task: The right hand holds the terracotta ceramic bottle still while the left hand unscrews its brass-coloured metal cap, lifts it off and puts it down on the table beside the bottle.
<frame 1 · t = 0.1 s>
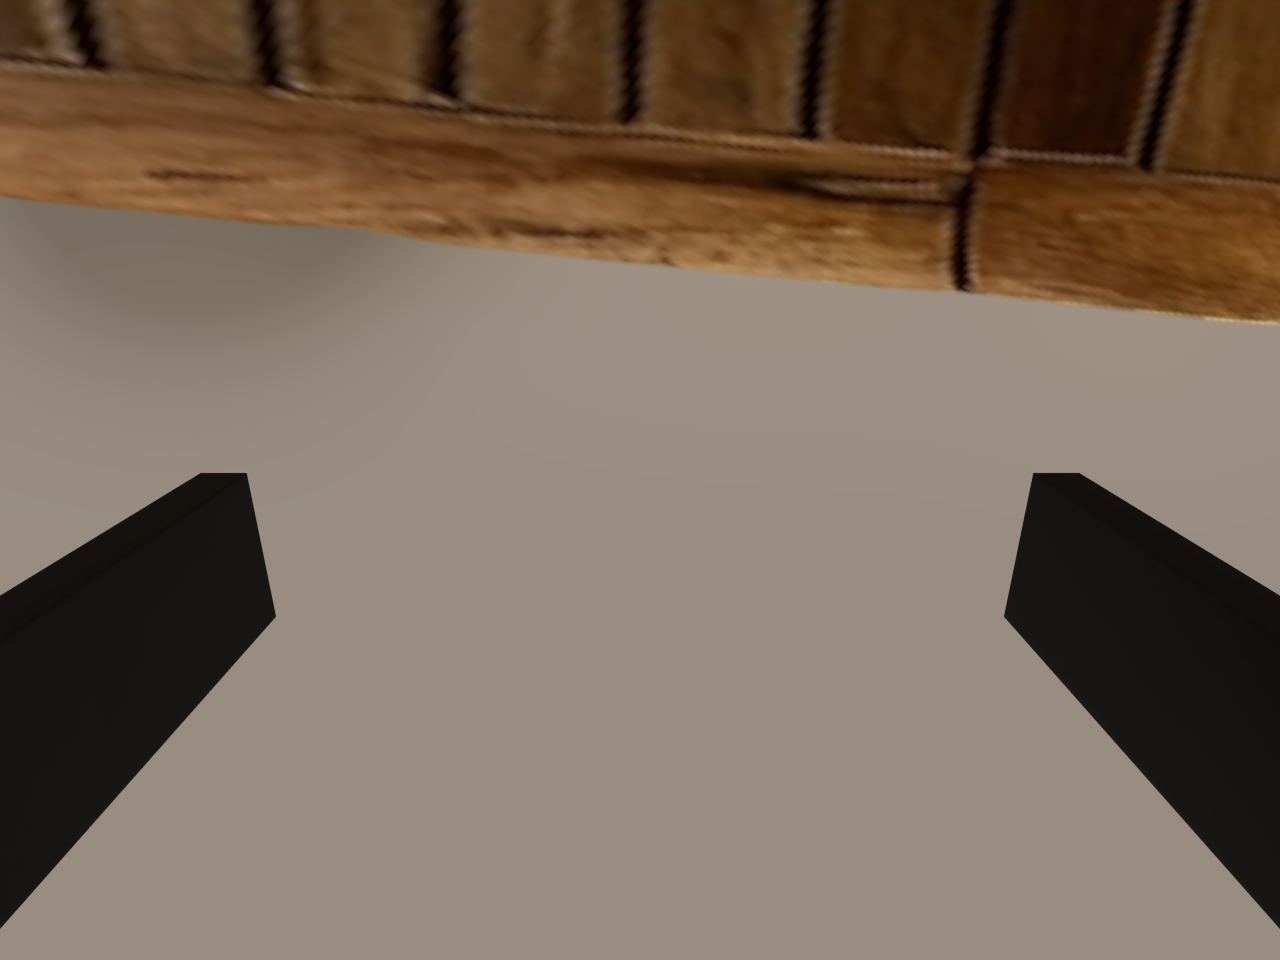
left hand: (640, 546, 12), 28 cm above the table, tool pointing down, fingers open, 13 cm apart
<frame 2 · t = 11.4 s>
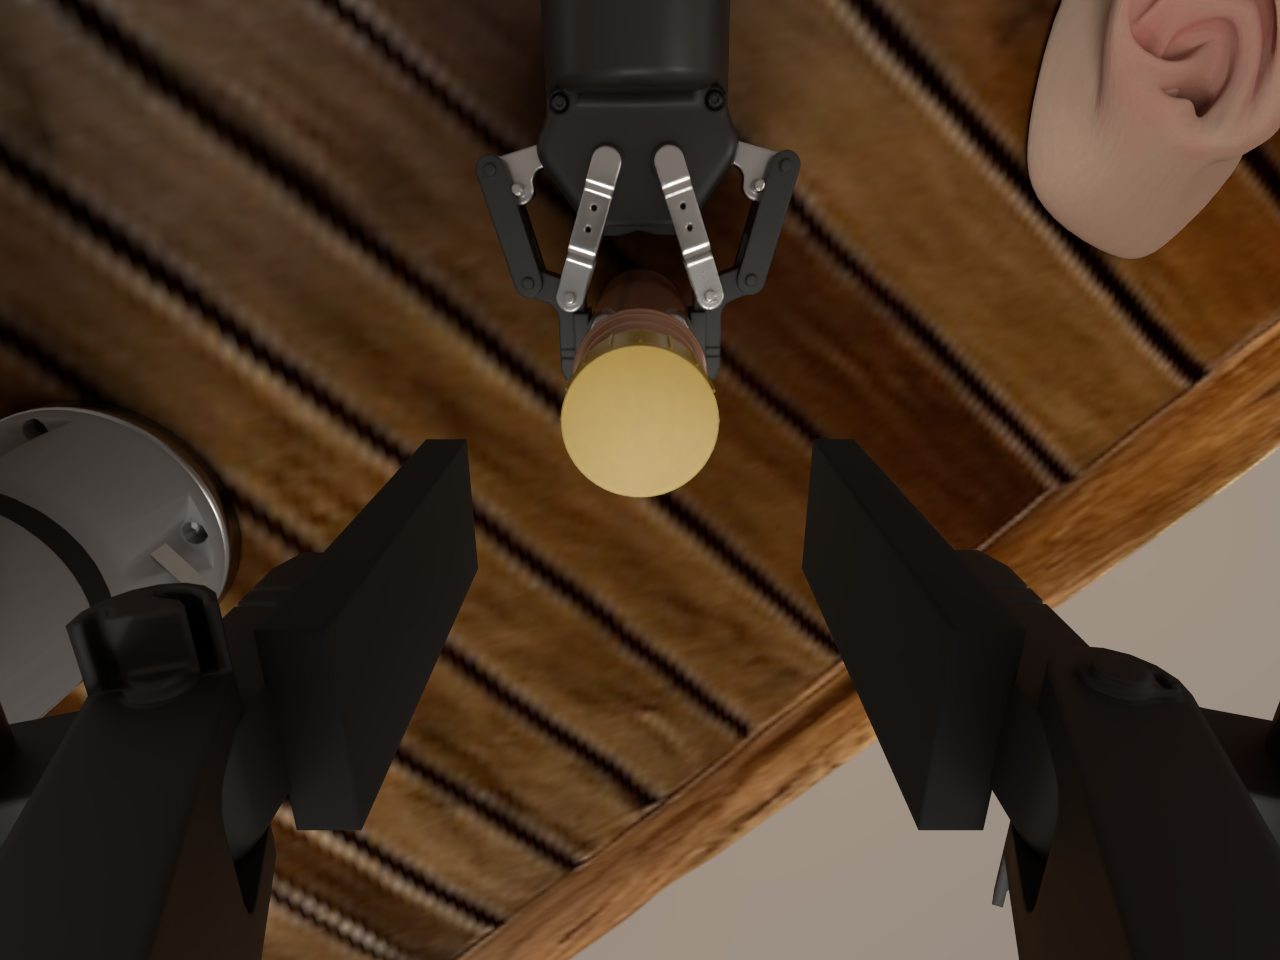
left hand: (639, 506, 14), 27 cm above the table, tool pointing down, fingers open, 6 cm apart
right hand: (641, 387, 35), fingers closed on bottle, 4 cm apart
anatomical model: (1137, 110, 36), on the table
cap: (639, 421, 20), point 21 cm above the table, screwed on, not yet turned
bottle: (640, 312, 39), on the table, touching right hand
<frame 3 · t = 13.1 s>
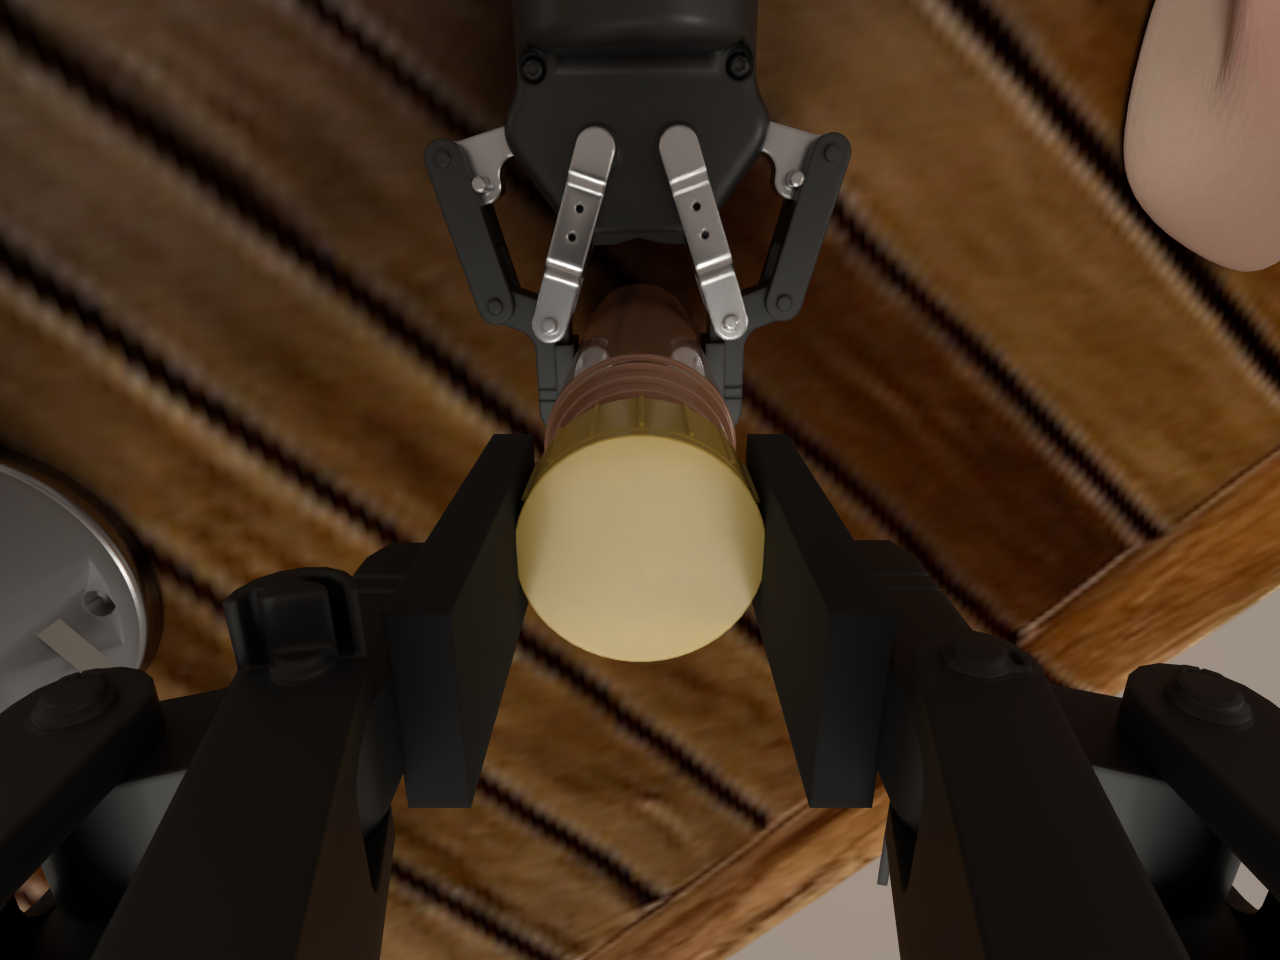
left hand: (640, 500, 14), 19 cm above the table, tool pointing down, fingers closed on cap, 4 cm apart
right hand: (641, 435, 27), fingers closed on bottle, 4 cm apart
anatomical model: (1263, 86, 29), on the table
cap: (640, 547, 12), point 21 cm above the table, screwed on, not yet turned, touching left hand
bottle: (640, 336, 32), on the table, touching right hand
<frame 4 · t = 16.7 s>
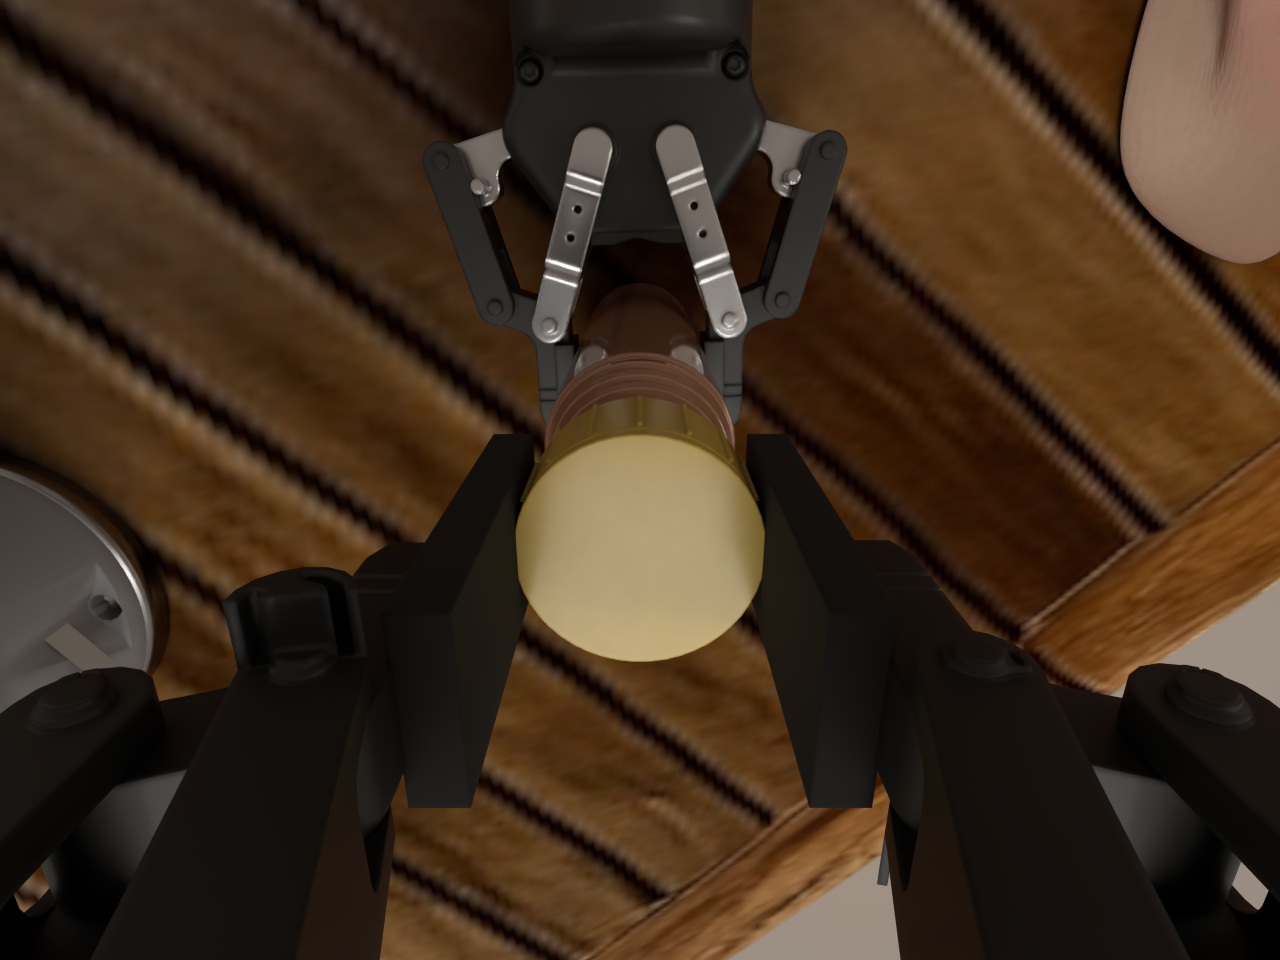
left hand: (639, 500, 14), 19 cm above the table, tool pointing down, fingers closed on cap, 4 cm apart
right hand: (642, 433, 27), fingers closed on bottle, 4 cm apart
anatomical model: (1259, 78, 29), on the table
cap: (639, 547, 12), point 21 cm above the table, turned 135° so far, risen 0.1 cm, still on its thread, touching left hand
bottle: (639, 336, 32), on the table, touching right hand
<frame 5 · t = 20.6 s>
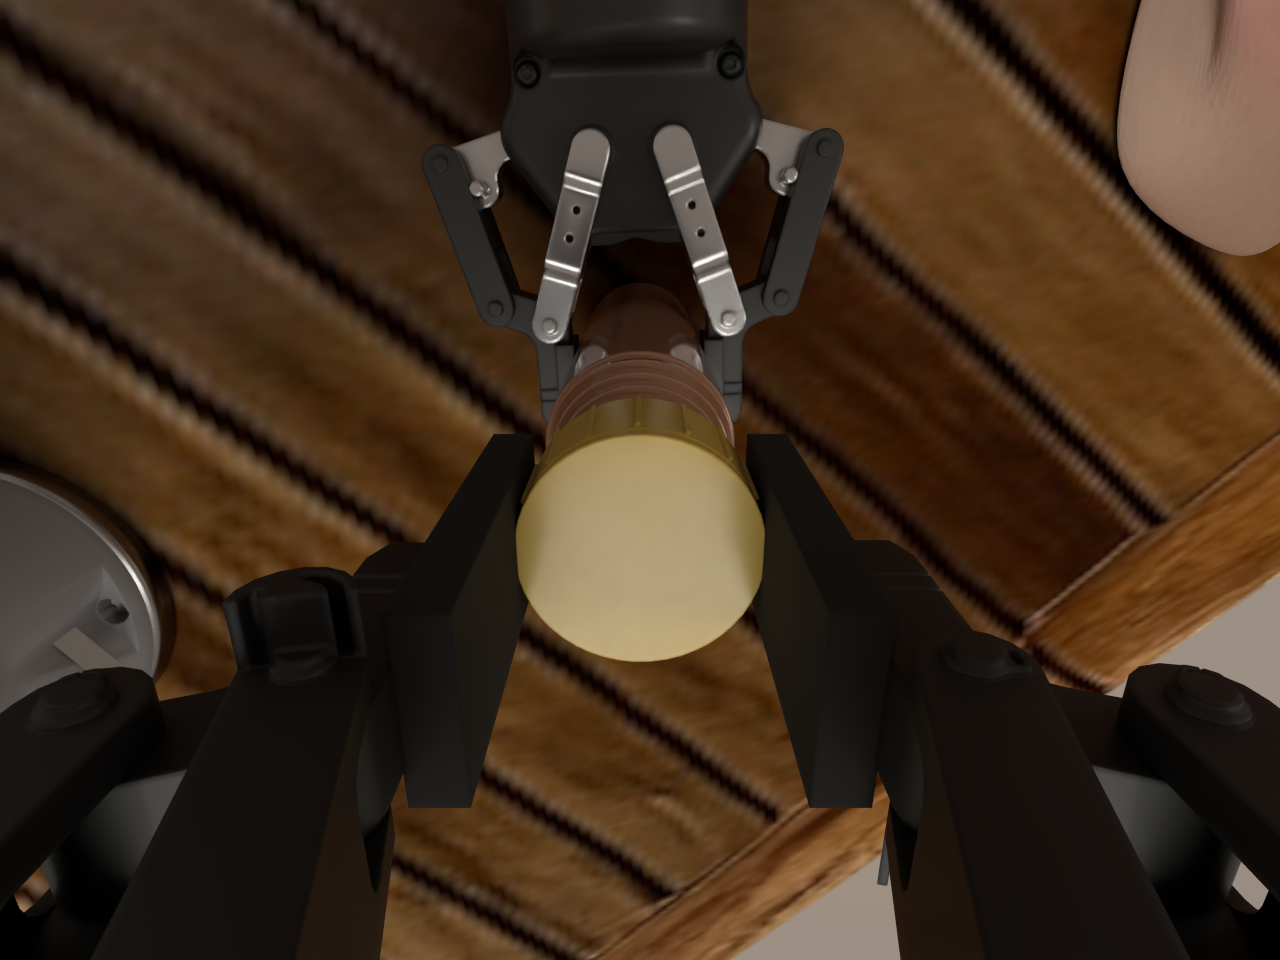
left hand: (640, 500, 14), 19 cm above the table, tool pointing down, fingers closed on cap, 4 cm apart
right hand: (643, 432, 28), fingers closed on bottle, 4 cm apart
anatomical model: (1256, 70, 29), on the table
cap: (640, 547, 12), point 21 cm above the table, turned 270° so far, risen 0.3 cm, still on its thread, touching left hand
bottle: (640, 335, 32), on the table, touching right hand
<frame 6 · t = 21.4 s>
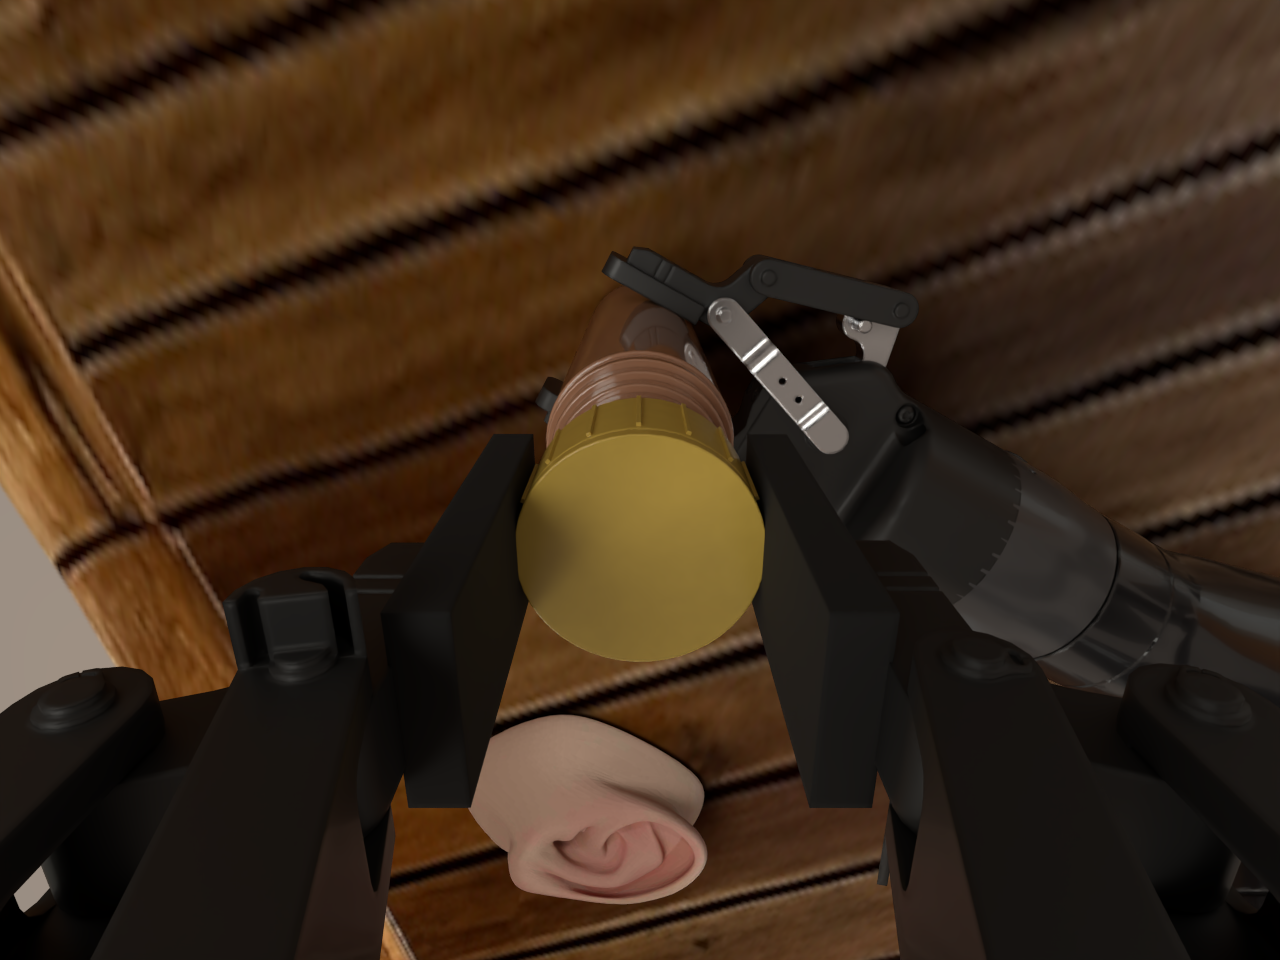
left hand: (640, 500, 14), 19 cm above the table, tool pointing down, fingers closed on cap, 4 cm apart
anatomical model: (578, 793, 42), on the table
cap: (640, 547, 12), point 21 cm above the table, off its thread, touching left hand
bottle: (640, 335, 32), on the table, touching right hand
when the left hand's fingers open (1 cm above the table, at t = 27.1 s): cap drops 1 cm, point 2 cm above the table.
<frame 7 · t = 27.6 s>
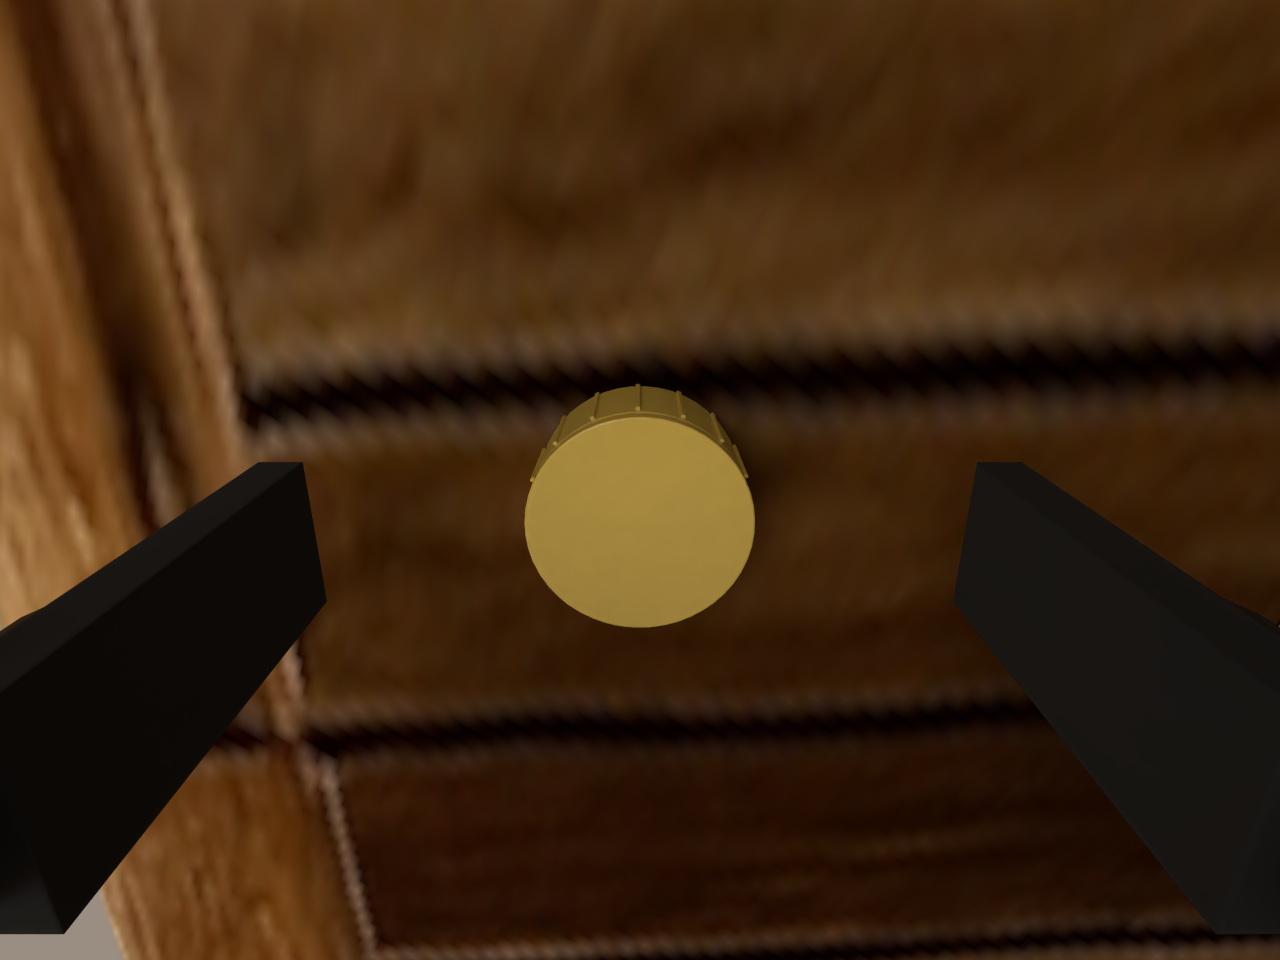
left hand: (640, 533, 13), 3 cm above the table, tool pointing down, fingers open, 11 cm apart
cap: (639, 521, 14), point 2 cm above the table, off its thread
when the right hand's fingers open (6 cm above the table, at t = 28.4 s): bottle stays where it is, on the table.
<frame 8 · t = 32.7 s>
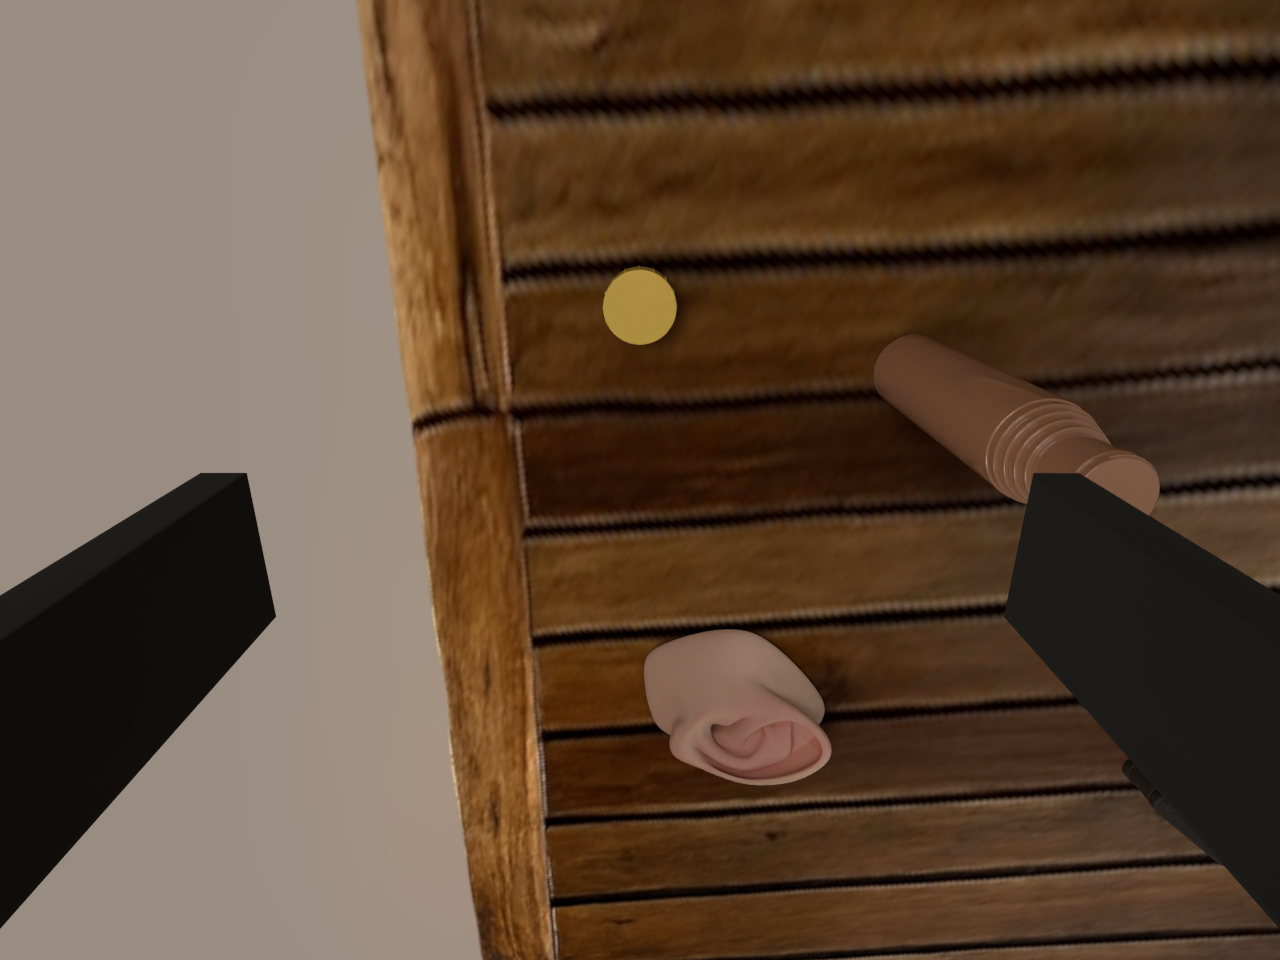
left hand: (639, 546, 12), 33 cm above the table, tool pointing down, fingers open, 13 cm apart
anatomical model: (729, 695, 54), on the table
cap: (639, 307, 42), point 2 cm above the table, off its thread
bottle: (910, 371, 45), on the table
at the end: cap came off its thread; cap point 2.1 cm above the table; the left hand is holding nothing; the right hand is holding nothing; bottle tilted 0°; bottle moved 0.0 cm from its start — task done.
